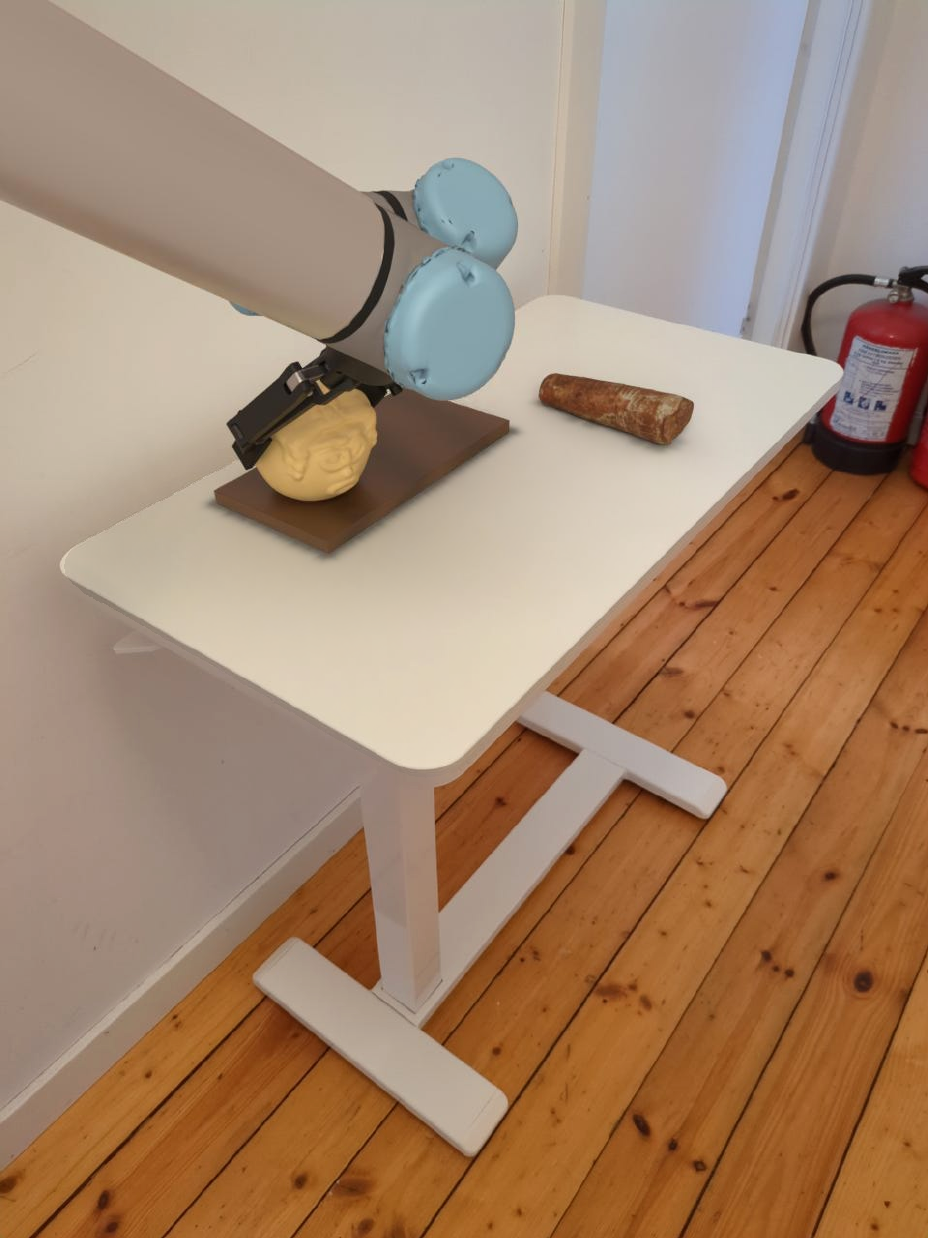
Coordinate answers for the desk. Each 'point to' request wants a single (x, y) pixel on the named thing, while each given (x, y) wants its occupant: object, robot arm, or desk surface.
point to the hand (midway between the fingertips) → (299, 433)
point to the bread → (619, 406)
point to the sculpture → (322, 449)
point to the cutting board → (374, 471)
